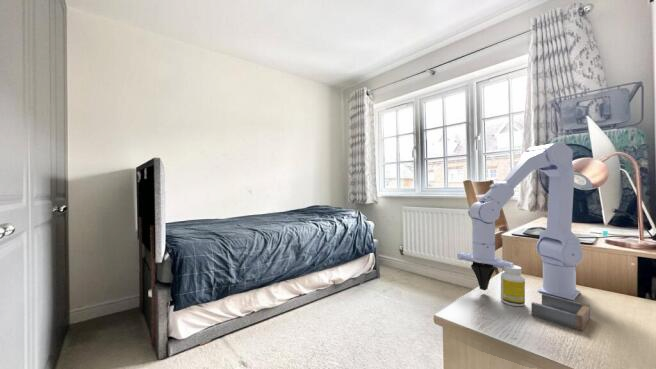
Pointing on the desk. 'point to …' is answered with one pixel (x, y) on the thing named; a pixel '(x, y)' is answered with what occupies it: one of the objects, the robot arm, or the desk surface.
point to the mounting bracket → (562, 311)
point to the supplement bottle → (513, 286)
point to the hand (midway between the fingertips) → (483, 289)
